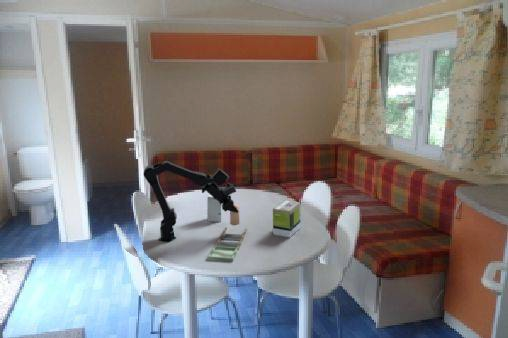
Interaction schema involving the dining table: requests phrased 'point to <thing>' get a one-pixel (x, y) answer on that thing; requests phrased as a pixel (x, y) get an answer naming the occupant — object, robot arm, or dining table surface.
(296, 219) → the tea box
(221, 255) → the frame
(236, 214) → the peach capsule
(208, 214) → the skincare box
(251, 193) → the dining table surface
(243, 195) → the dining table surface
